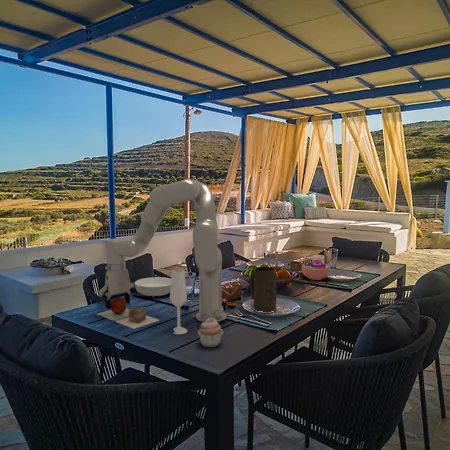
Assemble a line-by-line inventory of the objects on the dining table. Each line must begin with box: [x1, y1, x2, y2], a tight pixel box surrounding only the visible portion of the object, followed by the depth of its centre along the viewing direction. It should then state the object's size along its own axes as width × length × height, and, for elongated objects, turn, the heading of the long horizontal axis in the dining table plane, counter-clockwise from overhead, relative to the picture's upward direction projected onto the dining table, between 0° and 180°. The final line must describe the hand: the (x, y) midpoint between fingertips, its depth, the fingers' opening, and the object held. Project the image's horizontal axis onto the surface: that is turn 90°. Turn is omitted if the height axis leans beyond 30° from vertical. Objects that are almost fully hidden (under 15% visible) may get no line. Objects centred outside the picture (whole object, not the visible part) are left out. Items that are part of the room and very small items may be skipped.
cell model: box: [301, 259, 331, 281], centre depth 235 cm, size 17×20×11 cm
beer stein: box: [249, 266, 277, 312], centre depth 179 cm, size 15×10×20 cm
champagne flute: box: [169, 269, 188, 335], centre depth 152 cm, size 7×7×24 cm
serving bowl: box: [134, 276, 171, 298], centre depth 204 cm, size 21×21×7 cm
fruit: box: [110, 295, 127, 314], centre depth 172 cm, size 7×7×8 cm
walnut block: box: [128, 306, 147, 323], centre depth 163 cm, size 5×5×5 cm
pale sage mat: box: [96, 307, 131, 321], centre depth 172 cm, size 13×13×1 cm
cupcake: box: [197, 318, 224, 348], centre depth 140 cm, size 9×9×10 cm
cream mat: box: [115, 314, 160, 330], centre depth 163 cm, size 13×13×1 cm
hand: (117, 305), depth 172 cm, fingers open, 9 cm apart
